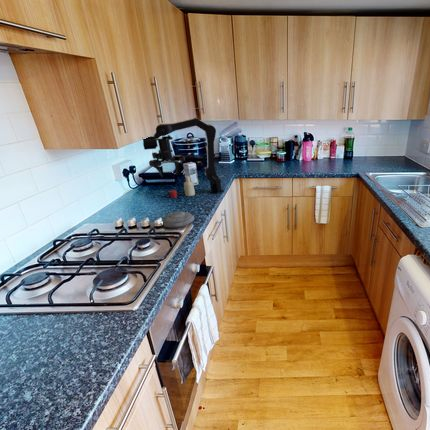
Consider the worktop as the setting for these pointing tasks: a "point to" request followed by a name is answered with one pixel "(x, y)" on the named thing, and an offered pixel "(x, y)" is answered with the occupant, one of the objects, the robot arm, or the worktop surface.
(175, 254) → the worktop surface
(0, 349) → the worktop surface
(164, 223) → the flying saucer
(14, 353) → the worktop surface
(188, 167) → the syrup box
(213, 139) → the robot arm
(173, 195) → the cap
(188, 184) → the bottle
